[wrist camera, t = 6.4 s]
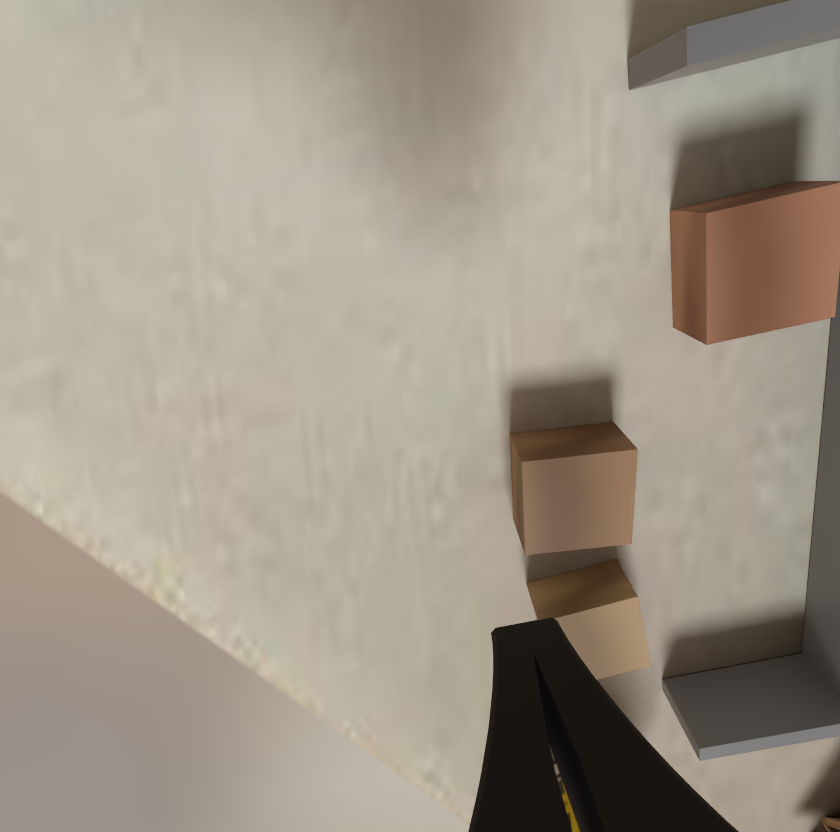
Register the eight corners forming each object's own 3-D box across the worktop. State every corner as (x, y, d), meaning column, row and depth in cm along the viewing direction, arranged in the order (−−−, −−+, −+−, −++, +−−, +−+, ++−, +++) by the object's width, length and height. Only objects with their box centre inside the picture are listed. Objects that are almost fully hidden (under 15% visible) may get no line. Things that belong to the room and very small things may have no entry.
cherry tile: (789, 181, 17) (847, 180, 15) (782, 301, 19) (835, 317, 17) (666, 209, 18) (706, 213, 15) (670, 325, 19) (706, 344, 17)
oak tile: (614, 555, 23) (637, 596, 21) (627, 621, 25) (651, 666, 22) (525, 580, 24) (539, 622, 21) (544, 643, 25) (558, 689, 23)
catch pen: (888, -7, 15) (1018, -59, 12) (817, 661, 26) (876, 729, 23) (627, 59, 16) (686, 26, 12) (663, 690, 26) (699, 761, 23)
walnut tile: (611, 419, 21) (637, 449, 18) (608, 506, 22) (631, 544, 20) (508, 431, 21) (521, 462, 18) (512, 517, 22) (525, 555, 20)
